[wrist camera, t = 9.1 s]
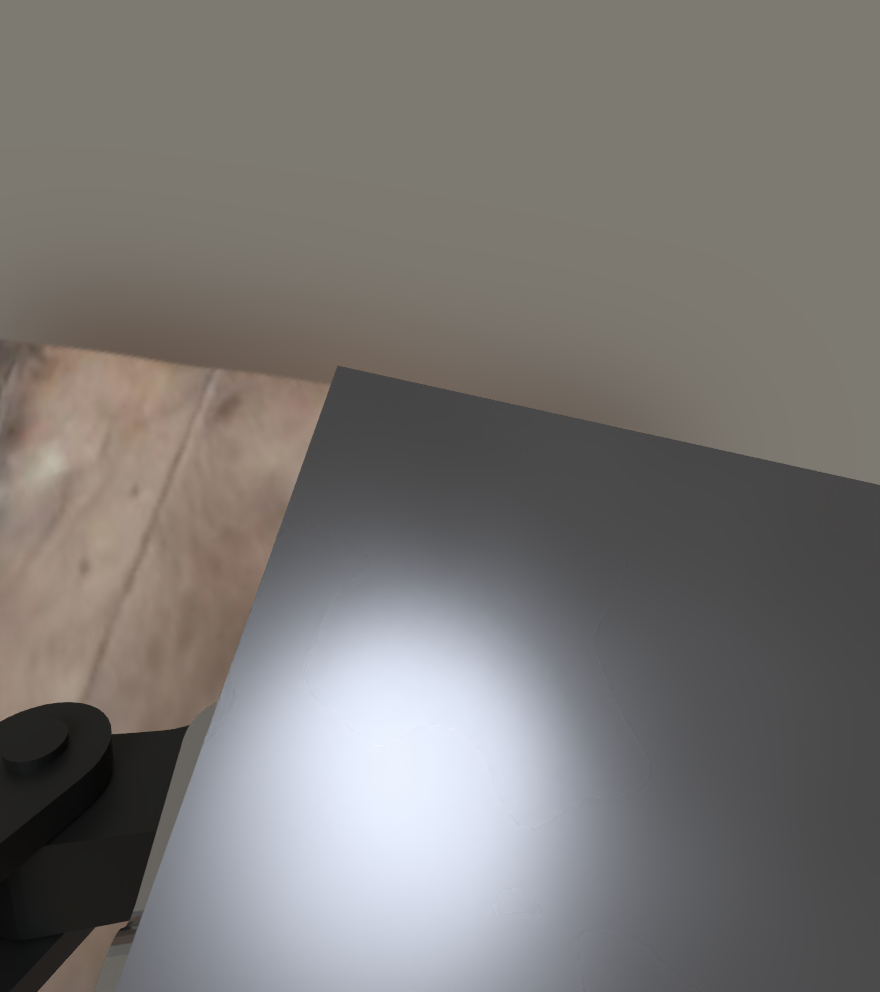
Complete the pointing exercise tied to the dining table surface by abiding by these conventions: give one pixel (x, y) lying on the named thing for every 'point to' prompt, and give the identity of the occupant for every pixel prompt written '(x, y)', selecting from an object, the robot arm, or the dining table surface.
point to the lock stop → (537, 721)
